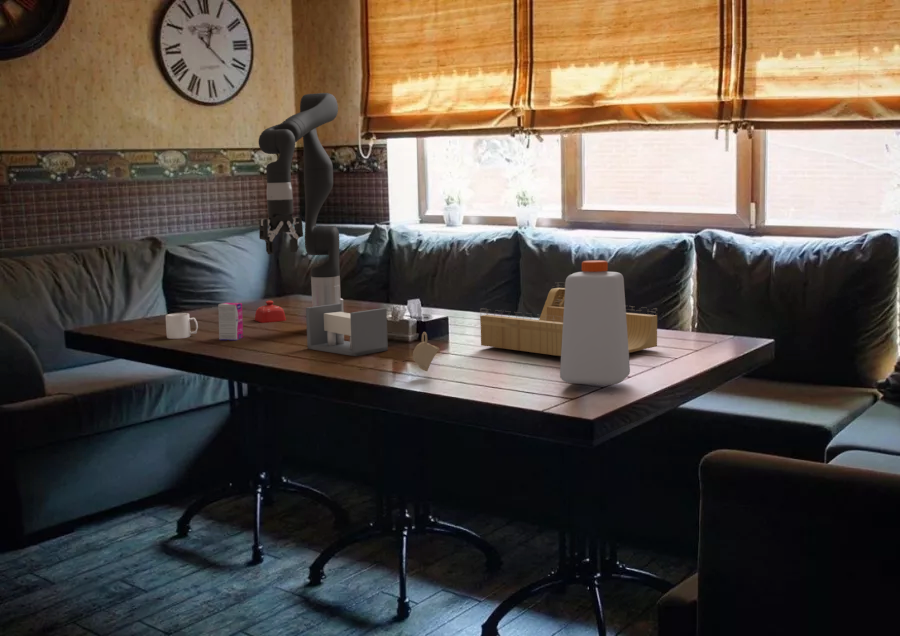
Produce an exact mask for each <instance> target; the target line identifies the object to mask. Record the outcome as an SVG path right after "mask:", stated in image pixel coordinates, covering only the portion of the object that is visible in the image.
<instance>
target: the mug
mask: <svg viewBox="0 0 900 636" xmlns="http://www.w3.org/2000/svg"><path fill="white" fill-rule="evenodd" d="M190 321H194V323H195V330H194V331H191V322H190ZM165 328H166V329H165V332H166V338H167V339H170V340H171V339H173V340H175V339H180V340H181V339H186V338H190V337H191V336H192V335H193V334H197V333H198V330H199V329H198V328H199V325H198V321H197V319H196V317H190V313H186V312H184V313H183V312H174V313H169V314H165Z"/></svg>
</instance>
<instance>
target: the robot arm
mask: <svg viewBox="0 0 900 636" xmlns="http://www.w3.org/2000/svg"><path fill="white" fill-rule="evenodd" d="M338 106H339V105H338V101H337V99H336V97H335V96H334V95H333V94H332V93H328V92H319V93H317V92H316V93H307V94H304V95H302V96H301V99H300V103H299V112H297V113H295V114H293V115H290V116H289V117H287V118H286V119H284V120H283V121H282V122H281V123H278V124H275V125H272V126H270V127H267V128H266V129H264V130H263V131H262V132H261V133H260V135H259V137H258V148H259V149H260V151H262V152H263V153H264V154H268V155H279V157H278V159H277V160H276V161H272V162H270V163H269V162H268V163H267V165H266V205H267V206H266V207H267V215H268V219H267V218H260V219H259V221H258V222H259V225H258V226H259V227H258V230H259V232H258V233H259V234H258V235H259V240H262V241H264V242H265V251H266V253H267V254H268V255H274V254H275V250H274V249H275V248H274V247H275V246H274V239H275V237H276V236H277V235H278V234H282V233H285V234H287V235H288V237H289V238H290V240H289V244H290V245H289V248H290V252H291V253H297V252H298V250H299V249H298V248H299V245H298V241H299V239H300V238H302V237H304V248H305V251H306V253H307V255H309V256H328V258H327V260H326V261H325V262H323V263H321V264H319V265H316V266H312V268H311V269H310V281H311V283H310V284H311V285H310V286H311V303H312V306H311V307H315V306H323V305H331V304H341V308H342V312H344V313H345V311H344V299H343V298H342V297H341V277H340V275H341V274H340V232H339V229H338V227H336V226H334V225H333V226H332V225H331V226H329V225H328V226H317V221H318V220H317V219H318V215H319V213H320V210H321V209H322V206H323V204H324V203H325V201H326V200H327V198H328V197H329V195H330V193H331V191H332V189H333V186H334V168H333V162H332V160H331V158H330V156H329V154H328V153H327V151H326V150H325V148H324V147H323V146H322V143H321V141H320V140H319V136H318V132H317V128H318V127H321V126H322V125H325V124H328V123H330V122H332V121H334V120H335V119H336V117H337V115H338V111H339V110H338V109H339V107H338ZM300 139H302V144H303V179H304V181H303V184H304V198H305V203H304V205H305V212H304V213H305V219H304V220H305V221H304V227H303V220H302V219H303V218H302V217H300V216H294V217H293V214H294V202H293V201H294V197H293V186H292V176H291V175H292V174H291V172H292V171H291V168H292V161H293V159H294V158H293V157H294V153H295V148H296V143H298V142H299V140H300ZM293 226H294V227H293ZM303 228H304V229H303ZM303 230H304V231H303Z"/></svg>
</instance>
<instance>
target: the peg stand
mask: <svg viewBox="0 0 900 636" xmlns="http://www.w3.org/2000/svg"><path fill="white" fill-rule="evenodd" d="M333 312H342V308H341V304H331V305H323V306H315V307H312V306H309V307H305V317H306V318H305V320H306V341H307V342H306V343H307V349H308V350H314V351H320V352H326V353H332V354H339V355H345V356H350V357H351V356H352V357H359V356H365V355H370V354H375V353H382V352H387V351H388V349H389V348H388V347H389V346H388V345H389V344H388V317H387V315H388V314H387V308H385V307H384V308H383V307H381V308H377V309H376V308H374V309H368V310H359V311H354V312H353V311H352V312H349V313H350V317H351V336H349V340H348V341H347V340H345V335H344V334H339V333H334V332H329V331H324V313H333Z"/></svg>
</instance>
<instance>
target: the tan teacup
mask: <svg viewBox="0 0 900 636" xmlns="http://www.w3.org/2000/svg"><path fill="white" fill-rule="evenodd" d="M439 351H440V347H438V346H437V345H432V344H431V343H429V342H428V334H427V332H426V331H423V332H422V334H421V342H419V343H418V344H416V346H414V349H413V352H412V359H413V361H414V362H415V364H416V365H418V367H419V368H420V370H422V371H425V372H428V371H429V369H430V366H431V364H432V361H433V360H434V358H435V356H436V354H437V353H438V352H439Z"/></svg>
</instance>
